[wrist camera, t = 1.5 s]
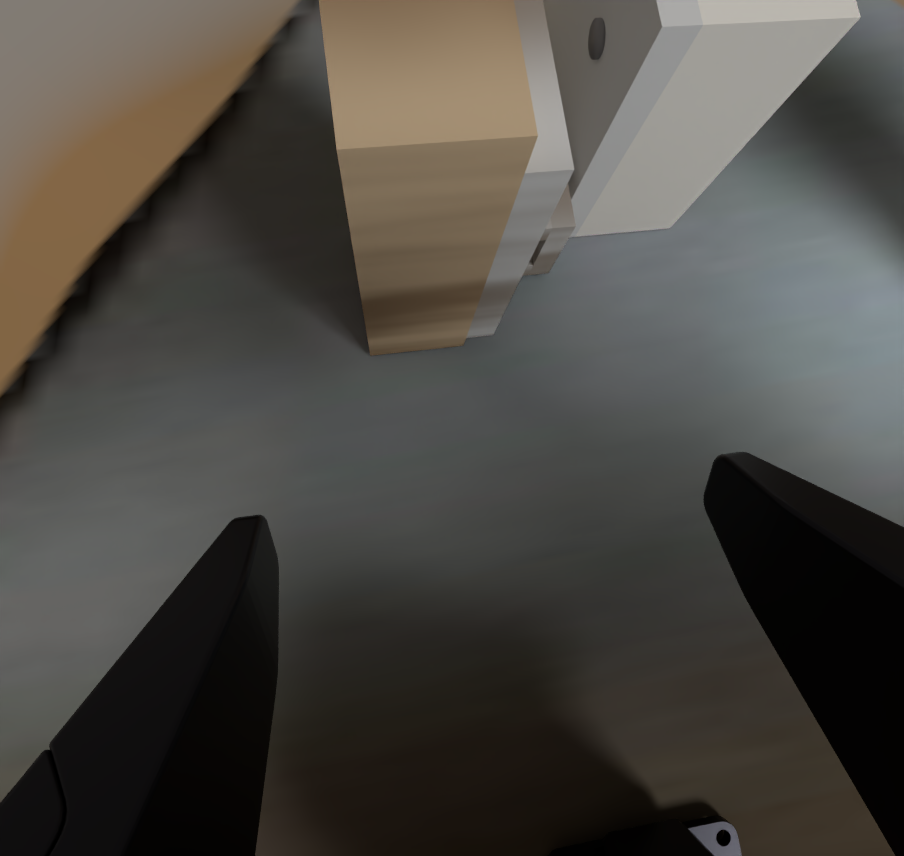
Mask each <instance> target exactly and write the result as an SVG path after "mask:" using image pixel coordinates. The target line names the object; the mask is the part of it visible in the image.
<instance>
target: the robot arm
mask: <svg viewBox="0 0 904 856" xmlns="http://www.w3.org/2000/svg"><path fill="white" fill-rule="evenodd" d="M704 507H705V510H706V513H707V515H708V517H709V519H710V522H711V524H712V526H713V528H714V531H715V533H716V535H717V537H718V539H719V542H720V544H721V546H722V548H723V551H724V553H725V555H726V557H727V559H728V562H729V564H730V566H731V568H732V571H733V573H734V575H735V577H736V579H737V582H738V584H739V586H740V588H741V590H742V592H743V594H744V596H745V598H746V600H747V602H748V603H749V605H750V607H751V609H752V611H753V612H754V614H755V616H756V617H757V619H758V621H759V623H760V624H761V626H762V628H763V629H764V631H765V633H766V635H767V636H768V638H769V640H770V641H771V643H772V645H773V647H774V648H775V650H776V652H777V653H778V655H779V657H780V659H781V660H782V662H783V664H784V665H785V667H786V669H787V671H788V672H789V674H790V676H791V677H792V679H793V681H794V683H795V684H796V686H797V688H798V689H799V691H800V693H801V695H802V696H803V698H804V700H805V701H806V703H807V705H808V707H809V708H810V710H811V712H812V713H813V715H814V717H815V719H816V720H817V722H818V724H819V725H820V727H821V729H822V731H823V732H824V734H825V736H826V737H827V739H828V741H829V743H830V744H831V746H832V748H833V749H834V751H835V753H836V755H837V756H838V758H839V760H840V761H841V763H842V765H843V767H844V768H845V770H846V772H847V773H848V775H849V777H850V779H851V780H852V782H853V784H854V785H855V787H856V789H857V791H858V792H859V794H860V796H861V797H862V799H863V801H864V803H865V804H866V806H867V808H868V809H869V811H870V813H871V815H872V816H873V818H874V820H875V821H876V823H877V825H878V827H879V828H880V830H881V832H882V833H883V835H884V837H885V839H886V840H887V842H888V844H889V845H890V847H891V849H892V851H893V852H894V854H895V856H904V527H902V526H900V525H898V524H896V523H894V522H892V521H890V520H888V519H886V518H883V517H881V516H879V515H877V514H875V513H873V512H871V511H869V510H867V509H865V508H862V507H860V506H858V505H856V504H854V503H852V502H850V501H848V500H846V499H844V498H841V497H839V496H837V495H835V494H833V493H831V492H829V491H827V490H825V489H823V488H820V487H818V486H816V485H814V484H812V483H810V482H808V481H806V480H804V479H802V478H799V477H797V476H795V475H793V474H791V473H789V472H787V471H785V470H783V469H781V468H778V467H776V466H774V465H772V464H770V463H768V462H766V461H764V460H762V459H760V458H757V457H755V456H753V455H751V454H749V453H746V452H736V453H728V454H722V455H719V456H718V457H717V458H716V459H715V460H714V462H713V465H712V469H711V472H710V475H709V479H708V482H707V485H706V489H705V492H704ZM278 627H279V566H278V558H277V553H276V550H275V546H274V543H273V540H272V536H271V533H270V530H269V526H268V523H267V520H266V519H265V517H264V516H262V515H253V516H245V517H238V518H235V519H233V520H232V521H231V522H230V523H229V524H228V525H227V526H226V527H225V529H224V530H223V531H222V532H221V534H220V535H219V536H218V537H217V539H216V540H215V541H214V542H213V543H212V545H211V546H210V547H209V548H208V550H207V551H206V552H205V553H204V554H203V556H202V557H201V558H200V559H199V561H198V562H197V563H196V564H195V566H194V567H193V568H192V569H191V570H190V572H189V573H188V574H187V575H186V577H185V578H184V579H183V580H182V581H181V583H180V584H179V585H178V586H177V588H176V589H175V590H174V591H173V593H172V594H171V595H170V596H169V597H168V599H167V600H166V601H165V602H164V604H163V605H162V606H161V607H160V608H159V610H158V611H157V612H156V613H155V615H154V616H153V617H152V618H151V620H150V621H149V622H148V623H147V624H146V626H145V627H144V628H143V629H142V631H141V632H140V633H139V634H138V635H137V637H136V638H135V639H134V640H133V642H132V643H131V644H130V645H129V647H128V648H127V649H126V650H125V651H124V653H123V654H122V655H121V656H120V658H119V659H118V660H117V661H116V662H115V664H114V665H113V666H112V667H111V669H110V670H109V671H108V672H107V674H106V675H105V676H104V677H103V678H102V680H101V681H100V682H99V683H98V685H97V686H96V687H95V688H94V689H93V691H92V692H91V693H90V694H89V696H88V697H87V698H86V699H85V701H84V702H83V703H82V704H81V705H80V707H79V708H78V709H77V710H76V712H75V713H74V714H73V715H72V716H71V718H70V719H69V720H68V721H67V723H66V724H65V725H64V726H63V728H62V729H61V730H60V731H59V732H58V734H57V735H56V736H55V737H54V739H53V740H52V741H51V742H50V745H49V747H50V750H44V751H43V752H42V753H41V754H40V755H39V757H38V758H37V759H36V760H35V761H34V763H33V764H32V765H31V766H30V768H29V769H28V770H27V771H26V772H25V774H24V775H23V776H22V777H21V779H20V780H19V781H18V782H17V784H16V785H15V786H14V787H13V788H12V789H11V791H10V792H9V793H8V794H7V795H6V797H5V798H4V799H3V800H2V801H1V802H0V856H255V851H256V843H257V835H258V828H259V820H260V812H261V804H262V796H263V788H264V780H265V773H266V765H267V757H268V749H269V741H270V733H271V725H272V718H273V710H274V702H275V694H276V685H277V675H278ZM720 830H724V836H723V837H722V839H720V840H716V835H717V833H718V831H720ZM548 856H742V855H741V850H740V845H739V840H738V835H737V832H736V830H735V828H734V827H733V826H732V825H731V824H730V823H729V822H728V821H727V820H726V819H725V818H723V817H721V816H711V817H706V818H701V819H697V820H692V821H687V822H682V823H681V822H680V821H679V820H677V819H671V820H666V821H662V822H657V823H652V824H647V825H642V826H637V827H633V828H628V829H623V830H618V831H613V832H609V833H608V834H607V835H606V836H605V837H604V839H601V840H596V841H591V842H586V843H582V844H577V845H572V846H567V847H562V848H558V849H556V850H553V851H552V852H551V853H550V854H549V855H548Z"/></svg>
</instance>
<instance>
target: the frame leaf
mask: <svg viewBox="0 0 904 856" xmlns="http://www.w3.org/2000/svg"><path fill="white" fill-rule="evenodd" d="M543 5H544V10H545V15H546V21H547V26H548V31H549V37H550V42H551V47H552V53H553V58H554V63H555V69H556V74H557V79H558V85H559V90H560V95H561V101H562V106H563V111H564V117H565V122H566V127H567V133H568V138H569V143H570V148H571V154H572V159H573V164H574V171H573V173H572V175H571V178H570V180H569V182H568V186H569V192H570V197H571V202H572V208H573V213H574V219H575V224H576V227H575V229H574V230H573V232H572V234H571V235H570V237H578V236H590V235H601V234H612V233H623V232H635V231H646V230H657V229H668V228H671V226H672V225H673V224H674V223H675V222H676V221H677V220H678V219H679V218H680V217H681V215H682V214H683V213H684V212H685V211H686V210H687V209H688V208H689V207H690V205H691V204H692V203H693V202H694V201H695V200H696V199H697V198H698V197H699V196H700V194H701V193H702V192H703V191H704V190H705V189H706V188H707V187H708V186H709V184H710V183H711V182H712V181H713V180H714V179H715V178H716V177H717V176H718V175H719V173H720V172H721V171H722V170H723V169H724V168H725V167H726V166H727V165H728V163H729V162H730V161H731V160H732V159H733V158H734V157H735V156H736V155H737V154H738V152H739V151H740V150H741V149H742V148H743V147H744V146H745V145H746V144H747V142H748V141H749V140H750V139H751V138H752V137H753V136H754V135H755V134H756V133H757V131H758V130H759V129H760V128H761V127H762V126H763V125H764V124H765V123H766V121H767V120H768V119H769V118H770V117H771V116H772V115H773V114H774V113H775V112H776V110H777V109H778V108H779V107H780V106H781V105H782V104H783V103H784V102H785V100H786V99H787V98H788V97H789V96H790V95H791V94H792V93H793V92H794V91H795V89H796V88H797V87H798V86H799V85H800V84H801V83H802V82H803V81H804V79H805V78H806V77H807V76H808V75H809V74H810V73H811V72H812V71H813V70H814V68H815V67H816V66H817V65H818V64H819V63H820V62H821V61H822V60H823V58H824V57H825V56H826V55H827V54H828V53H829V52H830V51H831V50H832V49H833V47H834V46H835V45H836V44H837V43H838V42H839V41H840V40H841V39H842V37H843V36H844V35H845V34H846V33H847V32H848V31H849V30H850V29H851V28H852V26H853V25H854V24H855V23H856V22H857V21H858V20H859V19H860V18H861V17H860V13H859V10H858V6H857V2H856V0H543Z"/></svg>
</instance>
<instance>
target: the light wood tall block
mask: <svg viewBox="0 0 904 856" xmlns="http://www.w3.org/2000/svg"><path fill="white" fill-rule="evenodd" d="M319 6H320V14H321V22H322V31H323V39H324V48H325V56H326V64H327V73H328V81H329V90H330V98H331V106H332V115H333V123H334V132H335V140H336V148H337V155H338V161H339V167H340V173H341V179H342V185H343V192H344V198H345V204H346V210H347V216H348V222H349V228H350V234H351V241H352V247H353V253H354V259H355V265H356V271H357V277H358V283H359V289H360V296H361V302H362V308H363V314H364V320H365V326H366V332H367V338H368V345H369V351H370V356H372V355H381V354H390V353H400V352H409V351H418V350H428V349H437V348H446V347H455V346H463V345H464V343H465V340H466V338H471V337H480V336H490V335H494V332H495V330H496V328H497V326H498V324H499V322H500V320H501V318H502V316H503V314H504V312H505V310H506V308H507V306H508V304H509V302H510V300H511V298H512V296H513V294H514V292H515V290H516V288H517V286H518V284H519V282H520V279H521V277H522V276H524V275H535V274H545V273H549V271H550V270H551V268H552V266H553V264H554V263H555V261H556V259H557V258H558V256H559V254H560V252H561V251H562V249H563V247H564V246H565V244H566V242H567V241H568V239H569V237H570V235H571V234H572V232H573V230H574V229H575V227H576V224H575V219H574V213H573V208H572V202H571V197H570V192H569V186H568V182H569V180H570V178H571V175H572V173H573V171H574V164H573V159H572V154H571V148H570V143H569V138H568V133H567V127H566V122H565V117H564V111H563V106H562V101H561V95H560V90H559V85H558V79H557V74H556V69H555V63H554V58H553V53H552V47H551V42H550V37H549V31H548V26H547V21H546V15H545V10H544V5H543V0H319Z"/></svg>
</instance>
